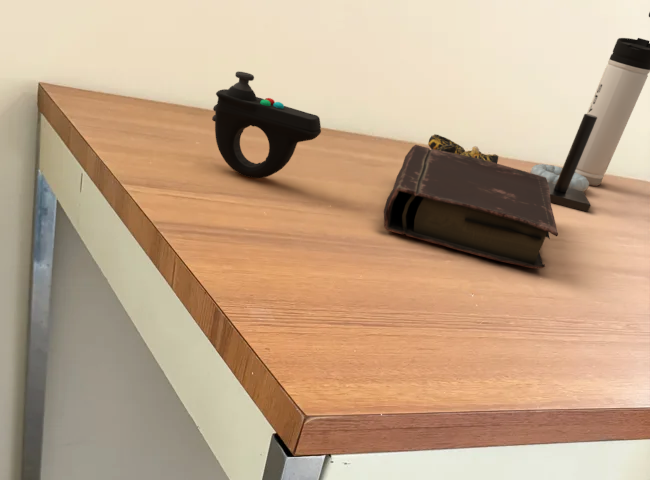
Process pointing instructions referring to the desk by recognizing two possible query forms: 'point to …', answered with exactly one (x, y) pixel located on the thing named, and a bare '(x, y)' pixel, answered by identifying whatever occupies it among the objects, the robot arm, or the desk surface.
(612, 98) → the travel mug
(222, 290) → the desk surface
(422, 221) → the diary
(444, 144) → the toy snake
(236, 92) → the controller
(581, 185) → the ring
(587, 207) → the stand
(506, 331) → the desk surface
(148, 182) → the desk surface
